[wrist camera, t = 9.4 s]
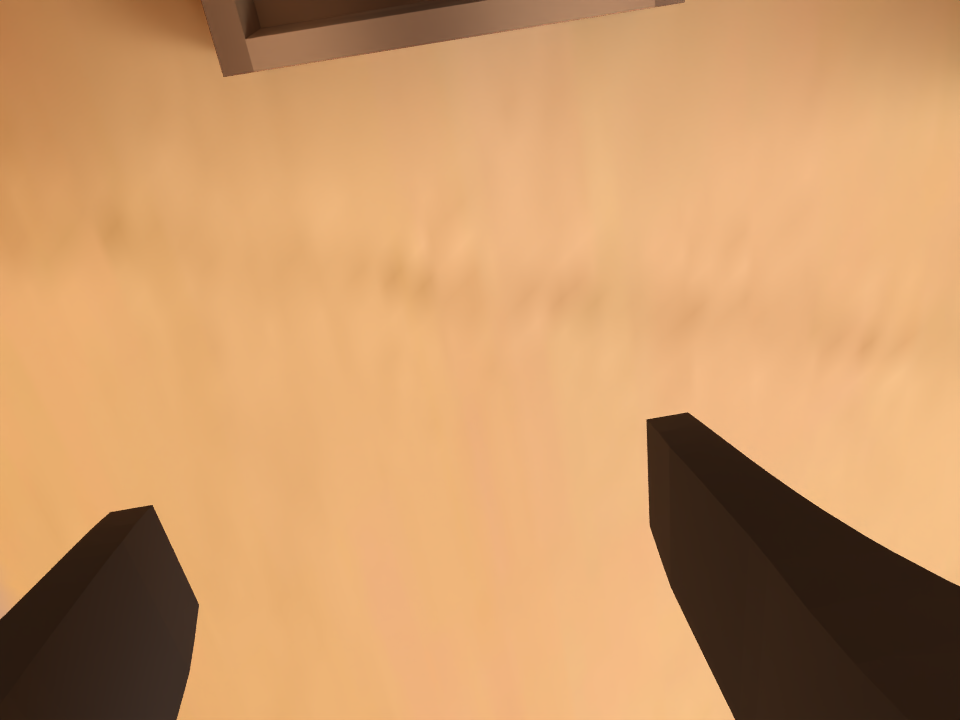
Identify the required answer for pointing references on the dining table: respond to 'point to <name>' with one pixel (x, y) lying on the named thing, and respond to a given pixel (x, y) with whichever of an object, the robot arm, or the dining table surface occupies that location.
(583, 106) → the dining table surface
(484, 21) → the walnut crate
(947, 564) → the dining table surface
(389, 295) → the dining table surface
